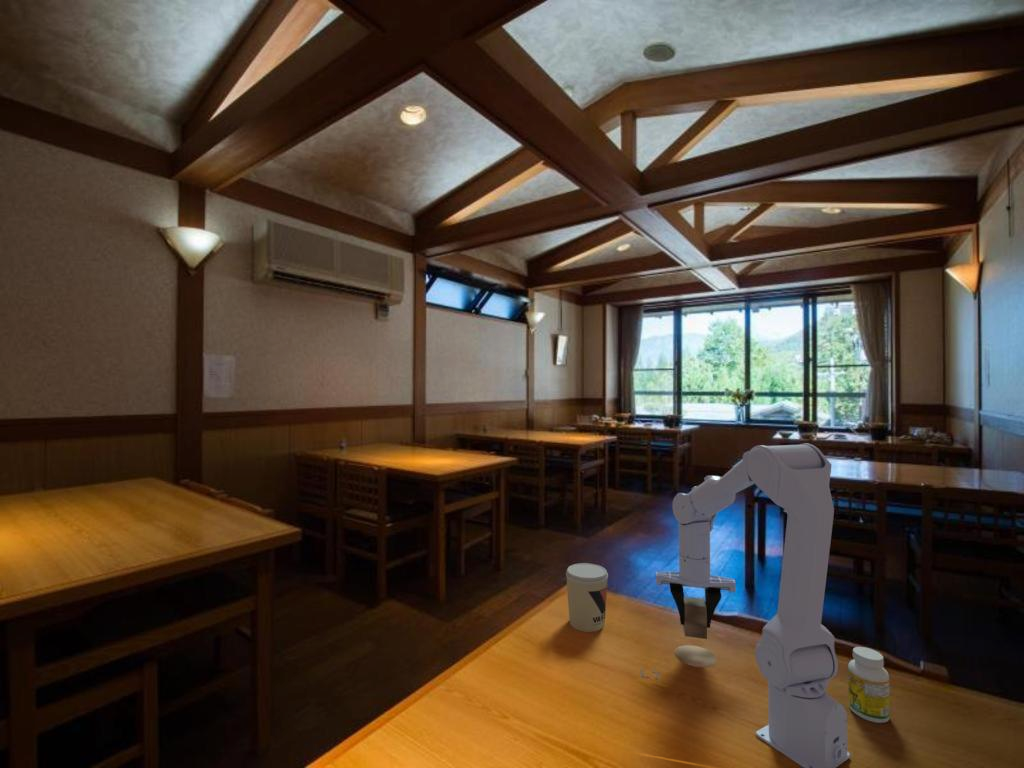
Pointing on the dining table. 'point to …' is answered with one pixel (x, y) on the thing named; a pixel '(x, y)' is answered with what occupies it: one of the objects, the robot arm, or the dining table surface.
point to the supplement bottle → (868, 685)
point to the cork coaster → (695, 656)
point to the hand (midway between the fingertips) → (694, 623)
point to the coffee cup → (587, 596)
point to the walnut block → (695, 617)
